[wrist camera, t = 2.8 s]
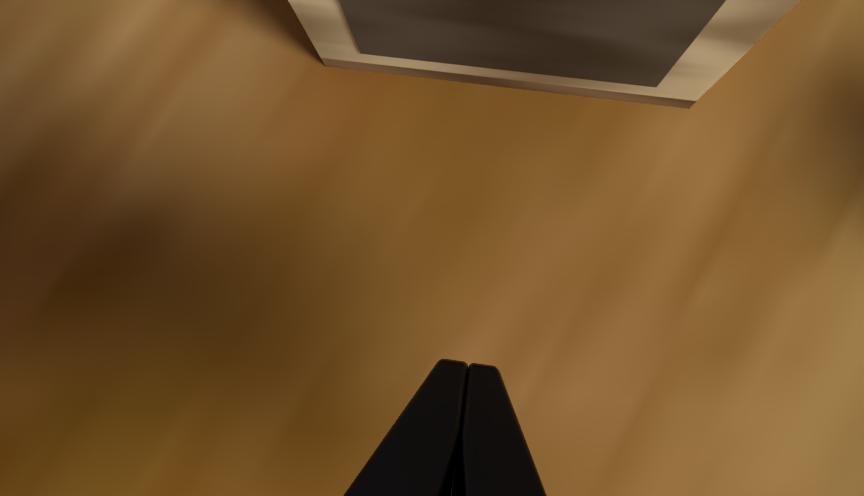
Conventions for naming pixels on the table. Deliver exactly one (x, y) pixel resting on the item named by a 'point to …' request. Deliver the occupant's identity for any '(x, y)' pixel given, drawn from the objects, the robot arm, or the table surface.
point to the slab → (546, 42)
